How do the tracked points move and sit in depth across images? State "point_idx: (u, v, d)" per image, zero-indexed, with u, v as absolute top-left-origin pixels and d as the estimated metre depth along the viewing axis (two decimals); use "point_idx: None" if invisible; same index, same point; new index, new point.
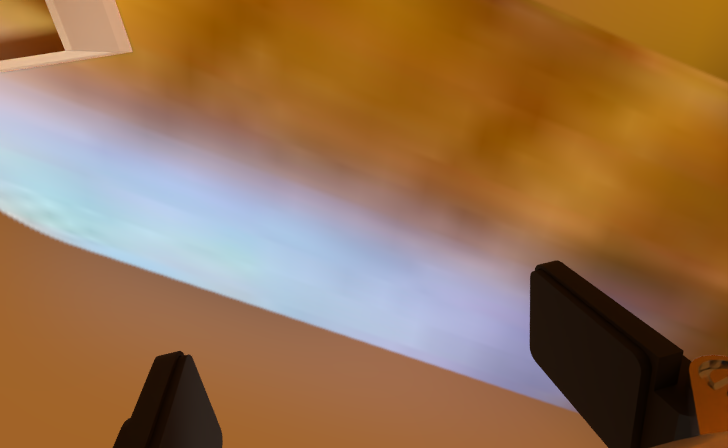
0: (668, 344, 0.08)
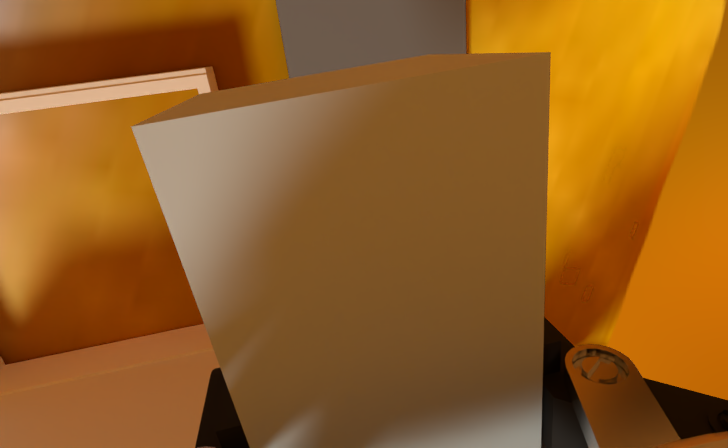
0: (550, 334, 0.09)
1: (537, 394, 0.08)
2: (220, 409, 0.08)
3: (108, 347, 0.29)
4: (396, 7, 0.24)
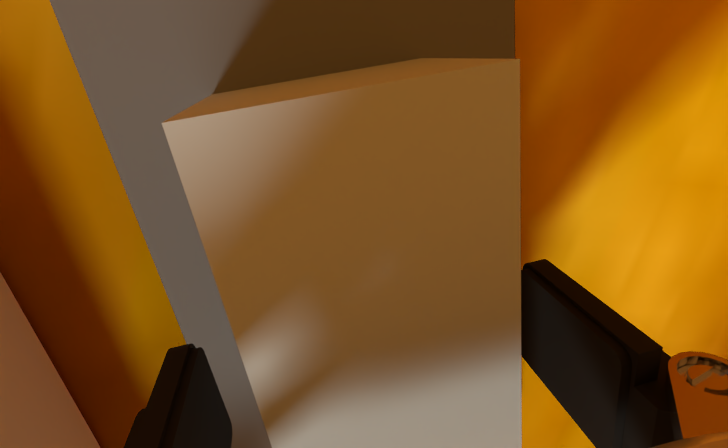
0: (648, 341, 0.08)
1: (516, 364, 0.09)
2: None
3: None
4: (359, 33, 0.11)
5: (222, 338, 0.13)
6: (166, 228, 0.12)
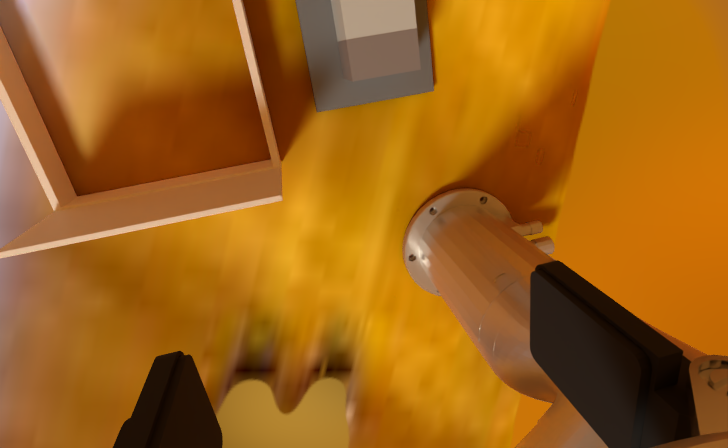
0: (668, 344, 0.08)
1: None
2: None
3: (154, 182, 0.37)
4: None
5: (313, 21, 0.35)
6: None
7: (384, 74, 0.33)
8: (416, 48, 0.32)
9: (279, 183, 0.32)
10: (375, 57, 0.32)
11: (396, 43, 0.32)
